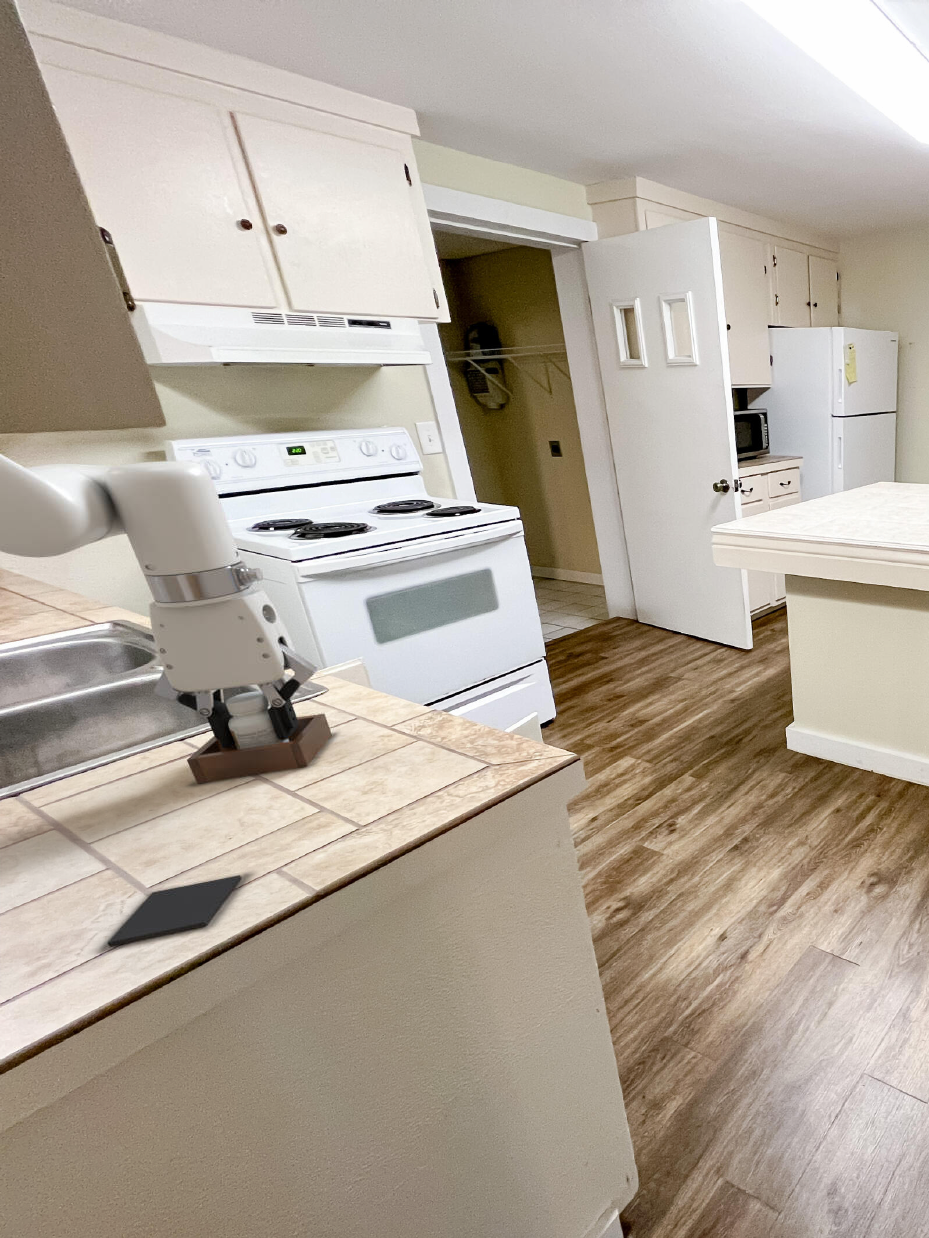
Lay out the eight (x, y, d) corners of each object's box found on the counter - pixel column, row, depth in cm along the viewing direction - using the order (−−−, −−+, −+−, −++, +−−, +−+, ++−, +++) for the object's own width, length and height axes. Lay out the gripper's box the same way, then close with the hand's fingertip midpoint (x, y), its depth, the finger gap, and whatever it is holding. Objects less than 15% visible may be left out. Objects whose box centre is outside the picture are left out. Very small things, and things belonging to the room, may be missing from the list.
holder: (197, 784, 74) (186, 759, 73) (232, 749, 81) (223, 727, 80) (307, 766, 77) (298, 742, 76) (332, 735, 84) (324, 713, 83)
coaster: (109, 946, 52) (106, 942, 52) (154, 895, 58) (152, 892, 57) (206, 926, 54) (204, 922, 54) (241, 878, 59) (240, 874, 59)
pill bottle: (255, 752, 80) (232, 692, 78) (299, 746, 82) (278, 686, 79) (236, 770, 77) (210, 708, 74) (282, 763, 78) (259, 702, 75)
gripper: (310, 567, 77) (358, 712, 84) (120, 584, 72) (186, 737, 79) (283, 584, 71) (337, 740, 78) (71, 603, 66) (148, 768, 72)
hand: (260, 737), depth 78 cm, fingers closed on pill bottle, 4 cm apart
